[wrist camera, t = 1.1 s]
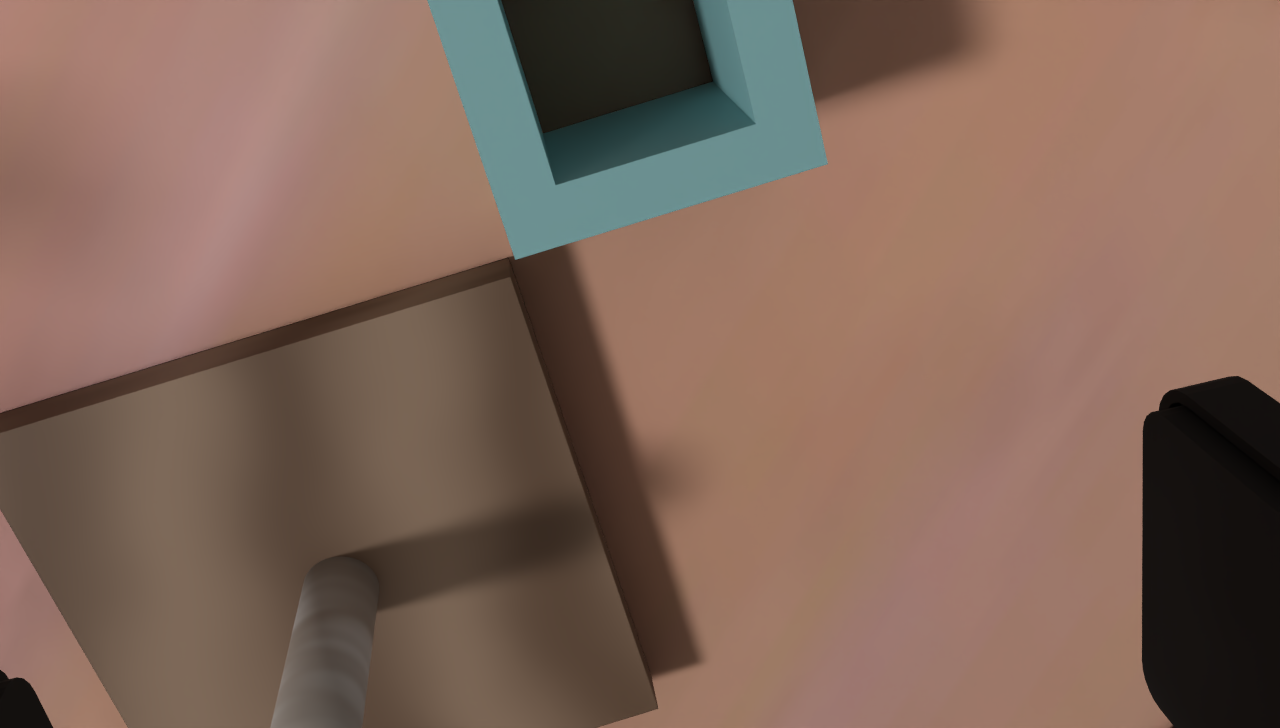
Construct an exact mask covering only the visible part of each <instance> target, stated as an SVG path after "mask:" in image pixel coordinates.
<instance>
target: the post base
mask: <svg viewBox="0 0 1280 728" xmlns="http://www.w3.org/2000/svg"><path fill="white" fill-rule="evenodd" d="M0 510H1V511H2V513H3V515H4V516H5V518H6V520H7V522H8V523H9V525H10V527H11V528H12V530H13V532H14V533H15V535H16V537H17V539H18V540H19V542H20V544H21V545H22V547H23V549H24V551H25V552H26V554H27V556H28V557H29V559H30V561H31V563H32V564H33V566H34V568H35V569H36V571H37V573H38V575H39V576H40V578H41V580H42V581H43V583H44V585H45V587H46V588H47V590H48V592H49V593H50V595H51V597H52V599H53V600H54V602H55V604H56V605H57V607H58V609H59V611H60V612H61V614H62V616H63V617H64V619H65V621H66V622H67V624H68V626H69V628H70V629H71V631H72V633H73V634H74V636H75V638H76V640H77V641H78V643H79V645H80V646H81V648H82V650H83V652H84V653H85V655H86V657H87V658H88V660H89V662H90V664H91V665H92V667H93V669H94V670H95V672H96V674H97V676H98V677H99V679H100V681H101V682H102V684H103V686H104V688H105V689H106V691H107V693H108V694H109V696H110V698H111V700H112V701H113V703H114V705H115V706H116V708H117V710H118V711H119V713H120V715H121V717H122V718H123V720H124V722H125V723H126V725H127V727H128V728H597V727H600V726H604V725H607V724H610V723H613V722H617V721H620V720H623V719H626V718H629V717H633V716H636V715H639V714H642V713H646V712H649V711H652V710H655V709H658V705H657V701H656V696H655V691H654V687H653V682H652V677H651V674H650V671H649V668H648V665H647V662H646V659H645V657H644V654H643V651H642V648H641V645H640V642H639V639H638V636H637V633H636V630H635V627H634V624H633V621H632V618H631V616H630V613H629V610H628V607H627V604H626V601H625V598H624V595H623V592H622V589H621V586H620V583H619V580H618V577H617V574H616V572H615V569H614V566H613V563H612V560H611V557H610V554H609V551H608V548H607V545H606V542H605V539H604V536H603V533H602V531H601V528H600V525H599V522H598V519H597V516H596V513H595V510H594V507H593V504H592V501H591V498H590V495H589V492H588V489H587V487H586V484H585V481H584V478H583V475H582V472H581V469H580V466H579V463H578V460H577V457H576V454H575V451H574V448H573V445H572V443H571V440H570V437H569V434H568V431H567V428H566V425H565V422H564V419H563V416H562V413H561V410H560V407H559V404H558V402H557V399H556V396H555V393H554V390H553V387H552V384H551V381H550V378H549V375H548V372H547V369H546V366H545V363H544V360H543V358H542V355H541V352H540V349H539V346H538V343H537V340H536V337H535V334H534V331H533V328H532V325H531V322H530V319H529V317H528V314H527V311H526V308H525V305H524V302H523V299H522V296H521V293H520V290H519V287H518V284H517V281H516V278H515V275H514V273H513V270H512V267H511V264H510V261H509V258H506V259H503V260H500V261H497V262H493V263H490V264H487V265H483V266H480V267H477V268H474V269H470V270H467V271H464V272H461V273H457V274H454V275H451V276H448V277H444V278H441V279H438V280H434V281H431V282H428V283H425V284H421V285H418V286H415V287H412V288H408V289H405V290H402V291H399V292H395V293H392V294H389V295H386V296H382V297H379V298H376V299H372V300H369V301H366V302H363V303H359V304H356V305H353V306H350V307H346V308H343V309H340V310H337V311H333V312H330V313H327V314H324V315H320V316H317V317H314V318H310V319H307V320H304V321H301V322H297V323H294V324H291V325H288V326H284V327H281V328H278V329H275V330H271V331H268V332H265V333H261V334H258V335H255V336H252V337H248V338H245V339H242V340H239V341H235V342H232V343H229V344H226V345H222V346H219V347H216V348H213V349H209V350H206V351H203V352H199V353H196V354H193V355H190V356H186V357H183V358H180V359H177V360H173V361H170V362H167V363H164V364H160V365H157V366H154V367H151V368H147V369H144V370H141V371H137V372H134V373H131V374H128V375H124V376H121V377H118V378H115V379H111V380H108V381H105V382H102V383H98V384H95V385H92V386H89V387H85V388H82V389H79V390H75V391H72V392H69V393H66V394H62V395H59V396H56V397H53V398H49V399H46V400H43V401H40V402H36V403H33V404H30V405H26V406H23V407H20V408H17V409H13V410H10V411H7V412H4V413H0Z"/></svg>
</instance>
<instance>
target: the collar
mask: <svg viewBox="0 0 1280 728" xmlns="http://www.w3.org/2000/svg"><path fill="white" fill-rule="evenodd" d="M427 1H428V3H429V6H430V9H431V12H432V15H433V18H434V21H435V24H436V27H437V30H438V33H439V36H440V39H441V42H442V45H443V48H444V51H445V54H446V57H447V60H448V62H449V65H450V68H451V71H452V74H453V77H454V80H455V83H456V86H457V89H458V92H459V95H460V98H461V101H462V104H463V107H464V110H465V113H466V116H467V119H468V122H469V124H470V127H471V130H472V133H473V136H474V139H475V142H476V145H477V148H478V151H479V154H480V157H481V160H482V163H483V166H484V169H485V172H486V175H487V178H488V181H489V184H490V186H491V189H492V192H493V195H494V198H495V201H496V204H497V207H498V210H499V213H500V216H501V219H502V222H503V225H504V228H505V231H506V234H507V237H508V240H509V243H510V245H511V248H512V251H513V254H514V257H515V260H516V259H520V258H523V257H526V256H530V255H533V254H536V253H539V252H543V251H546V250H549V249H552V248H556V247H559V246H562V245H565V244H569V243H572V242H575V241H578V240H582V239H585V238H588V237H592V236H595V235H598V234H601V233H605V232H608V231H611V230H614V229H618V228H621V227H624V226H627V225H631V224H634V223H637V222H640V221H644V220H647V219H650V218H654V217H657V216H660V215H663V214H667V213H670V212H673V211H676V210H680V209H683V208H686V207H689V206H693V205H696V204H699V203H702V202H706V201H709V200H712V199H716V198H719V197H722V196H725V195H729V194H732V193H735V192H738V191H742V190H745V189H748V188H751V187H755V186H758V185H761V184H764V183H768V182H771V181H774V180H778V179H781V178H784V177H787V176H791V175H794V174H797V173H800V172H804V171H807V170H810V169H813V168H817V167H820V166H823V165H826V164H828V163H827V158H826V154H825V149H824V144H823V140H822V135H821V130H820V126H819V121H818V116H817V112H816V107H815V103H814V98H813V93H812V89H811V84H810V79H809V75H808V70H807V65H806V61H805V56H804V51H803V47H802V42H801V37H800V33H799V28H798V24H797V19H796V14H795V10H794V5H793V0H693V3H694V7H695V11H696V15H697V19H698V23H699V27H700V31H701V35H702V39H703V43H704V47H705V51H706V55H707V59H708V63H709V67H710V71H711V75H712V79H713V82H710V83H707V84H703V85H700V86H697V87H693V88H690V89H687V90H684V91H680V92H677V93H674V94H671V95H667V96H664V97H661V98H658V99H654V100H651V101H648V102H644V103H641V104H638V105H635V106H631V107H628V108H625V109H622V110H618V111H615V112H612V113H608V114H605V115H602V116H599V117H595V118H592V119H589V120H586V121H582V122H579V123H576V124H573V125H569V126H566V127H563V128H559V129H556V130H553V131H550V132H546V133H543V132H542V129H541V125H540V122H539V119H538V116H537V113H536V110H535V106H534V103H533V100H532V97H531V94H530V90H529V87H528V84H527V81H526V78H525V74H524V71H523V68H522V65H521V62H520V59H519V55H518V52H517V49H516V46H515V43H514V39H513V36H512V33H511V30H510V27H509V23H508V20H507V17H506V14H505V11H504V8H503V4H502V1H501V0H427Z"/></svg>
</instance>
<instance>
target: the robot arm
mask: <svg viewBox="0 0 1280 728" xmlns="http://www.w3.org/2000/svg"><path fill="white" fill-rule="evenodd" d="M1142 664H1143V672H1144V676H1145V680H1146V683H1147V685H1148V688H1149V691H1150V693H1151V695H1152V697H1153V699H1154V701H1155V702H1156V704H1157V705H1158V707H1159V708H1160V709H1161V711H1162V712H1163V713H1164V714H1165V716H1166V717H1167V718H1168V719H1169V721H1170V722H1171V723H1172V724H1173V726H1174V727H1175V728H1280V403H1279V402H1277V401H1276V400H1274V399H1273V398H1271V397H1270V396H1269V395H1267V394H1266V393H1264V392H1263V391H1262V390H1260V389H1259V388H1257V387H1256V386H1255V385H1253V384H1252V383H1250V382H1249V381H1247V380H1245V379H1243V378H1241V377H1239V376H1231V377H1226V378H1221V379H1217V380H1213V381H1208V382H1204V383H1200V384H1196V385H1191V386H1187V387H1183V388H1178V389H1174V390H1170V391H1168V392H1167V393H1166V394H1165V395H1164V396H1163V398H1162V400H1161V403H1160V406H1159V411H1155V412H1151V413H1150V414H1149V415H1147V416H1146V419H1145V421H1144V426H1143V542H1142ZM0 728H53V727H52V725H51V723H50V721H49V719H48V717H47V715H46V713H45V711H44V709H43V707H42V705H41V703H40V701H39V699H38V697H37V695H36V693H35V691H34V690H33V688H32V686H31V685H30V683H28V682H27V681H26V680H25V679H23V678H13V679H8V677H7V676H6V674H5V673H4V672H2V671H1V670H0Z"/></svg>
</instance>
